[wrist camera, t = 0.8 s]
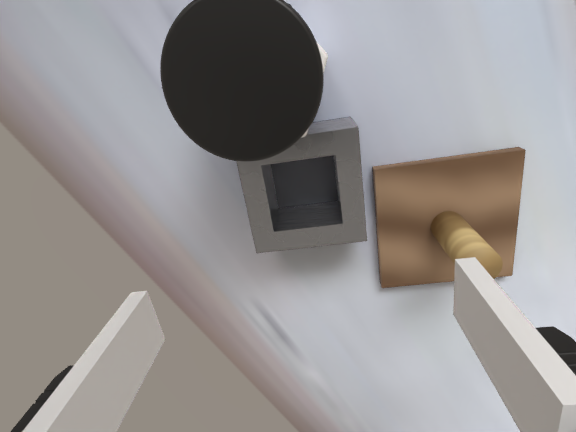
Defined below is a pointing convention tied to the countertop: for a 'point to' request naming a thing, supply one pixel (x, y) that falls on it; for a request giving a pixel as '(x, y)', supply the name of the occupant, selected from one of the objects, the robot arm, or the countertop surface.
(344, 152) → the grey hollow block
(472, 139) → the countertop surface
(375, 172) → the keeper
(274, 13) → the jar
